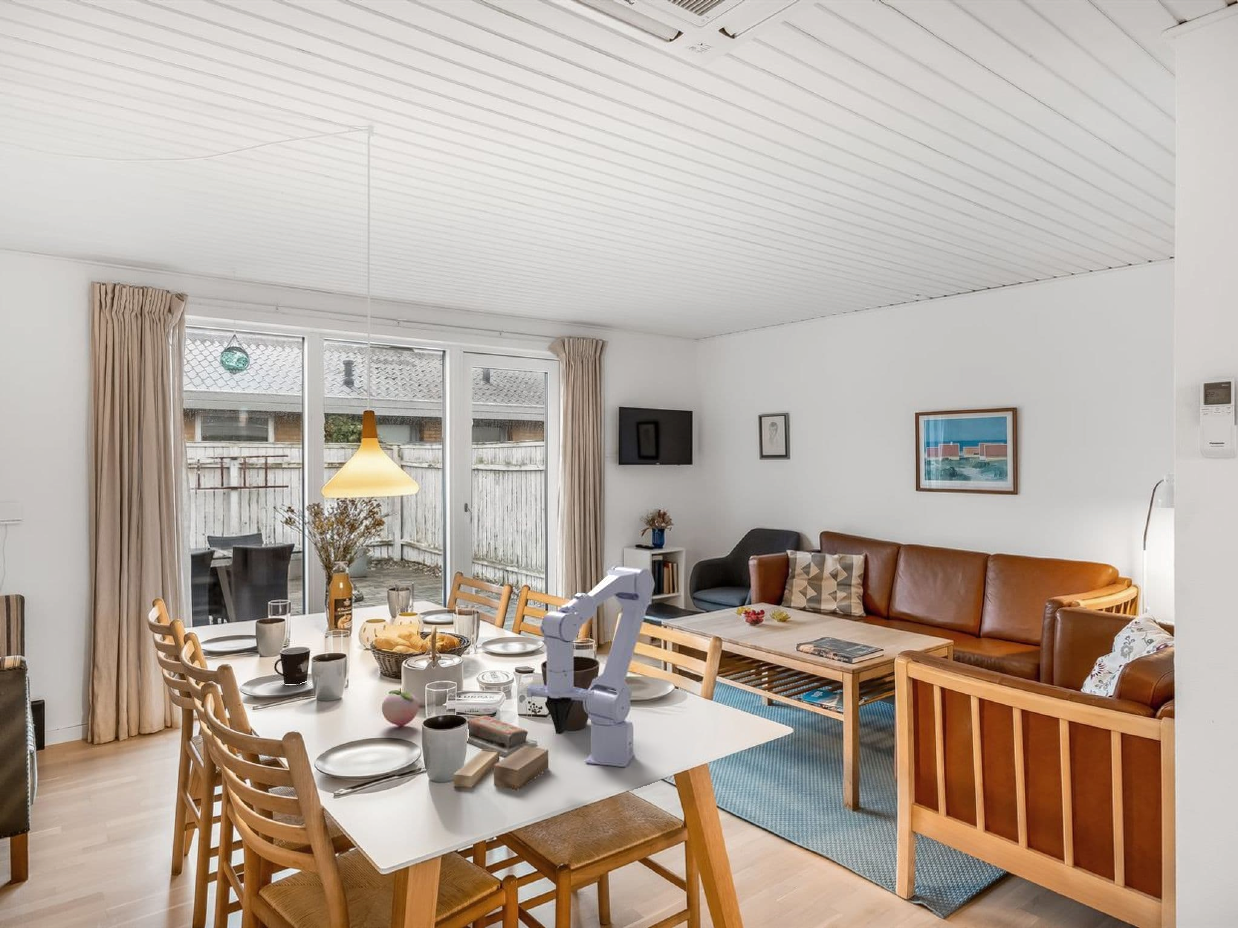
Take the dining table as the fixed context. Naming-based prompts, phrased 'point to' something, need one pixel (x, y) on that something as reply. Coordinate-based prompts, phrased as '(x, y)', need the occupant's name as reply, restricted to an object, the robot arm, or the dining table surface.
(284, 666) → the coffee mug
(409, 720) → the decorative fruit
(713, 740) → the dining table surface
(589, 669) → the plant pot
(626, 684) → the robot arm
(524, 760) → the block
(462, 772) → the light wooden bar
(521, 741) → the reddish brown brick
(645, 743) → the dining table surface
